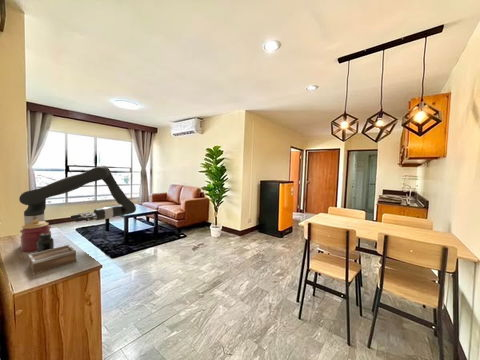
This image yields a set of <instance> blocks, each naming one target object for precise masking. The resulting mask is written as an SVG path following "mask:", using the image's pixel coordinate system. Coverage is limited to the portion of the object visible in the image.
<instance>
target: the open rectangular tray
mask: <svg viewBox="0 0 480 360" xmlns="http://www.w3.org/2000/svg"><path fill="white" fill-rule="evenodd" d="M27 256H28V258H27V259H28V260H27V261H28V268H29V270H30V271H31V273H32V274H33V275H37V274H40V273H43V272H45V271H49V270H53V269H56V268H60V267H62V266H66V265H70V264H73V263H76V262H77V250H76V249H75V248H73V247H72V246H71V245H70V244H67V245H61V246H59V247H58V246H57V247H54V248H53V249H49V250H45V251H41V252H37V251H35V252H31V253H29V254H27Z"/></svg>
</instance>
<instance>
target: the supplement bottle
mask: <svg viewBox="0 0 480 360" xmlns="http://www.w3.org/2000/svg"><path fill="white" fill-rule="evenodd" d="M54 242H55V241H54V238H53V237H52V232H51V233H45V234H41V235H39V240H38V241H37V251H36V252H41V251H45V250H49V249H53V248H55V243H54Z"/></svg>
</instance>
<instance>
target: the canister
mask: <svg viewBox="0 0 480 360" xmlns="http://www.w3.org/2000/svg"><path fill="white" fill-rule="evenodd" d="M49 224H50V223H49V222H47V221H39V220H37V219H35V220H33V222H31V223H27V224H23V225H22V226H21V228H22V229H20V230H19V232H20V233H21V235H20V236H19V237H20V250H21V252H22V253H35V252H37V241H38V240H39V235H41V234H45V233H51V234H52V231H51V230H50V229H51V228H52V227H51V225H49Z"/></svg>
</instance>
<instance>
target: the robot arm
mask: <svg viewBox="0 0 480 360" xmlns="http://www.w3.org/2000/svg"><path fill="white" fill-rule="evenodd" d="M97 181H103V182H104V183H105V185H106V186H107V188H108V190H109V193H110V194H111V196H112V197H113V199H114V200H115V201H116V203H117V204H118V205H119V206H118V205H117V206H110V207H102V208H101V207H100V208H96V209H94V210H93V212H91V211H87V212H79V213H77V214H73V215H70V219H71V220H74V221H75V223H77V222H78V223H79V222H83V221H84V222H89V221H90V222H91V221H101V220H106V219H107V220H108V219H111V218H115V217H119V216H127V215H132V214H134V213H135V212H136V210H137V206H136V204H135V203H134V202H133V201H132V200H131V199H129V198H128V196H127V195H126V193H124V191H123V190H122V188H120V186H119V185H118V183H117V181H116V179H115V178H114V176H113V173H112V171H110V168H109V167H108V166H105V165H97V166H95V167H93V168H91V169H89V170H87V171H85V172H82V173H79V174H74V175H70V176H67V177H64V178H61V179H59V180H56V181H54V182H51V183H49V184H47V185H45V186H43V187H39V188H35V189H32V190H31V189H30V190H27V191H24V192H22V193H21V194H20V195H19V198H18V199H19V201H18V202H20V204H22V205H24V206H27V208H26V209H25V210H24V211H23V219H24V220H23V221H24V223H23V225H25V224H27V223H31V222H33V220H35V219H37V220H39V221H45V210H46V206H47V199H48V198H52V197H55V196H60V195H63V194H68V193H70V192H73V191H75V190H77V189H79V188H82V187H83V186H85V185H87V184H91V183H93V182H97ZM120 205H121V206H120ZM45 222H46V221H45Z"/></svg>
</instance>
